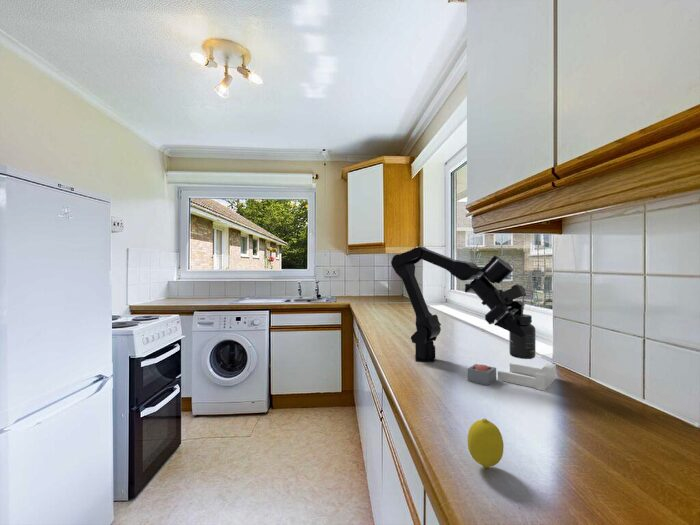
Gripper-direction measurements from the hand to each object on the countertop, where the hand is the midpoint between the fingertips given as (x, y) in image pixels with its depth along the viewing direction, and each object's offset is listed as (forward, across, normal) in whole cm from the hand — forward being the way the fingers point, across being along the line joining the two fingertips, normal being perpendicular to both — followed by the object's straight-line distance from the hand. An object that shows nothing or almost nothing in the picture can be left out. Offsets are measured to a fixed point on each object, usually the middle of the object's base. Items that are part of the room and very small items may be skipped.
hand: (527, 334), depth 98 cm
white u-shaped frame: (+9, 0, +10) cm, 13 cm away
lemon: (+15, -50, +4) cm, 53 cm away
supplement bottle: (+4, 0, +6) cm, 7 cm away
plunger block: (+3, -9, +16) cm, 19 cm away
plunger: (+2, -9, +16) cm, 18 cm away
